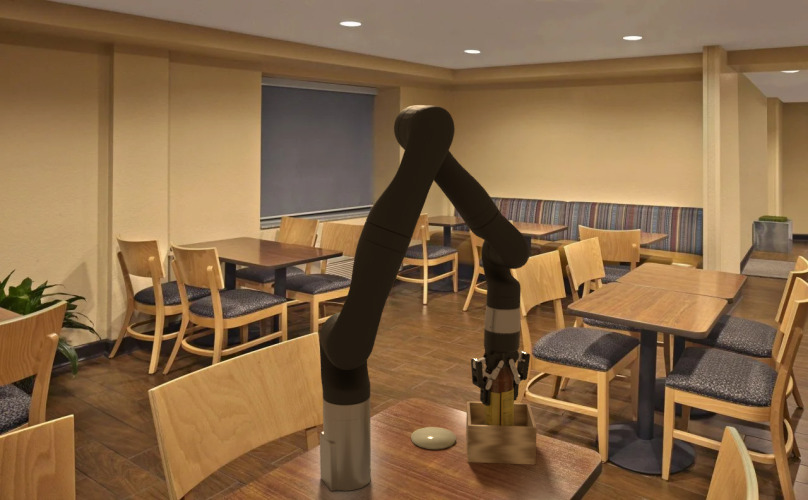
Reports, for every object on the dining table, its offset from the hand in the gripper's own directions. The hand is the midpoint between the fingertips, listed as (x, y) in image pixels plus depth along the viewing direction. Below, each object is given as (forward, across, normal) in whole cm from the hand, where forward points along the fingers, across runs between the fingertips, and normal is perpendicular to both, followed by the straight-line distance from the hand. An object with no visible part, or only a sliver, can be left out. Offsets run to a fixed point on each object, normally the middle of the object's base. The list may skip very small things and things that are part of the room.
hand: (499, 401), depth 139 cm
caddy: (+11, 0, 0) cm, 11 cm away
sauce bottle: (+7, 0, 0) cm, 7 cm away
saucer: (+11, -10, +10) cm, 18 cm away
